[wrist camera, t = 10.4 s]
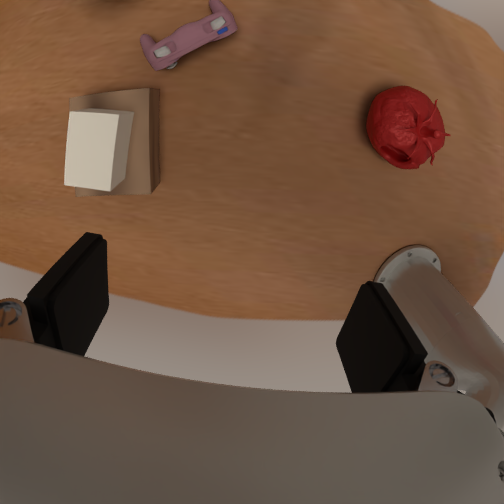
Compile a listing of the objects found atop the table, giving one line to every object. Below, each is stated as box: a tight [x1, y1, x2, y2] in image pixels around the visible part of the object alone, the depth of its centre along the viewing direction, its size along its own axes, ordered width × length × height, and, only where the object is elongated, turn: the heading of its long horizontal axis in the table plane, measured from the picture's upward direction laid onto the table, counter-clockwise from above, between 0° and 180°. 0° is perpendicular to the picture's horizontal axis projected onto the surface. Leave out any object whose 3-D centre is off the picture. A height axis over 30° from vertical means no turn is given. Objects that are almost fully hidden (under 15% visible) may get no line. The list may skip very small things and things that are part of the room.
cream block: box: [64, 108, 134, 191], centre depth 25 cm, size 5×7×4 cm
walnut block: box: [69, 88, 160, 197], centre depth 29 cm, size 9×11×5 cm
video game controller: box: [140, 0, 238, 71], centre depth 24 cm, size 10×5×7 cm, turn 117°
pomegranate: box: [366, 86, 450, 169], centre depth 29 cm, size 10×10×9 cm
